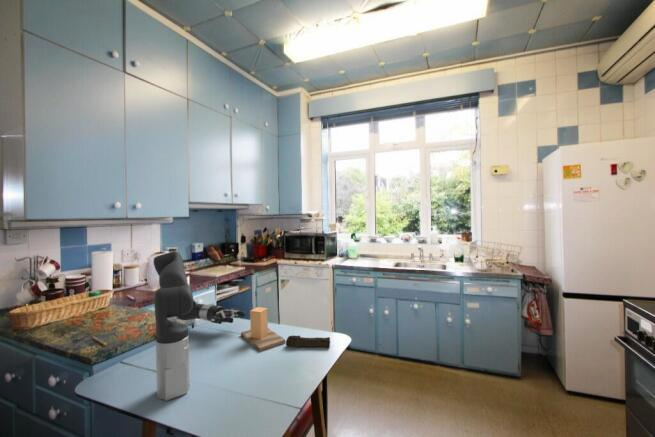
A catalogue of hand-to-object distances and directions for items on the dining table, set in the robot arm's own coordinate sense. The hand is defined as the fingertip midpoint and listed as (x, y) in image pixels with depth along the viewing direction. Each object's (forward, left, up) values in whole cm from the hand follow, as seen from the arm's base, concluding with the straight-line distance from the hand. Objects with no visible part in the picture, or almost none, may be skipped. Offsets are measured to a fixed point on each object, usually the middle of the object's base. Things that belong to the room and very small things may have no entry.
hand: (238, 317), depth 132 cm
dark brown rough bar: (-30, -18, -9) cm, 36 cm away
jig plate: (-11, -7, -9) cm, 15 cm away
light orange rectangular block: (-10, -6, -7) cm, 13 cm away
